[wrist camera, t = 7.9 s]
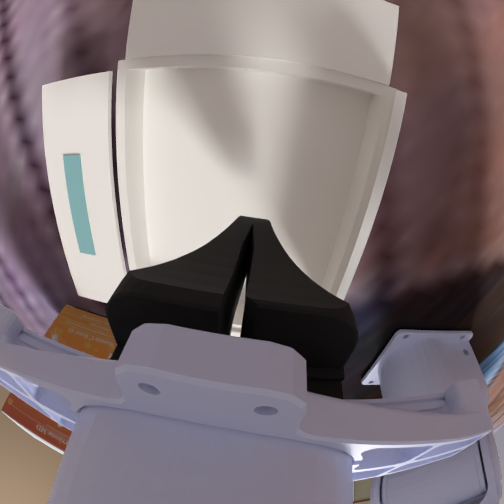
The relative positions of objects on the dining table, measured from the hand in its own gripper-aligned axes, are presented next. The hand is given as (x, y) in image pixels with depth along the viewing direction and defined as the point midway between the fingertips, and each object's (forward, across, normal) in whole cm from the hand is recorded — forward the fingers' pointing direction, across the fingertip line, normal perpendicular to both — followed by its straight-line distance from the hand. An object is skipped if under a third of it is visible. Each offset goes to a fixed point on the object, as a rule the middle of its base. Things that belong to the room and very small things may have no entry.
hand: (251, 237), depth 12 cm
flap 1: (+1, +9, 0) cm, 9 cm away
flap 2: (-1, -4, 0) cm, 4 cm away
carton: (+3, +1, 0) cm, 4 cm away
